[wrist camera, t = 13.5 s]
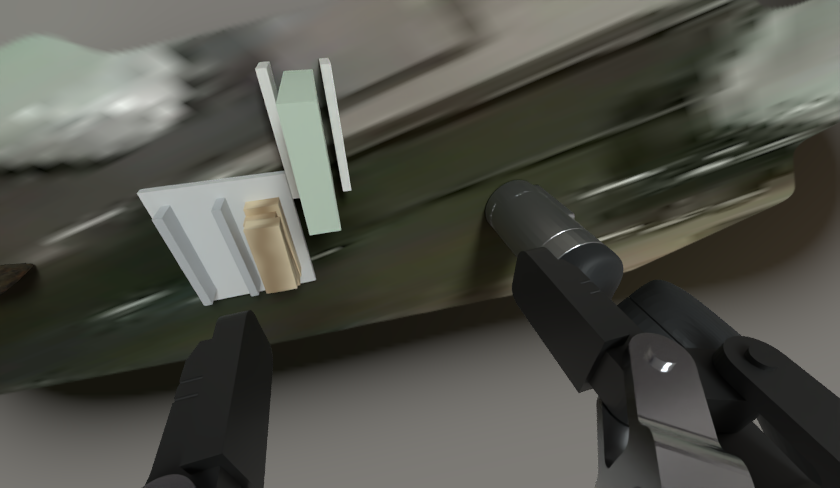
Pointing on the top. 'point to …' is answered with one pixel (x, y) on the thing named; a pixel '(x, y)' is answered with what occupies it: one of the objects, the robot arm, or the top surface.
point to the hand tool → (12, 274)
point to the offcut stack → (271, 245)
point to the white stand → (270, 100)
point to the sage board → (308, 150)
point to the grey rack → (221, 231)
